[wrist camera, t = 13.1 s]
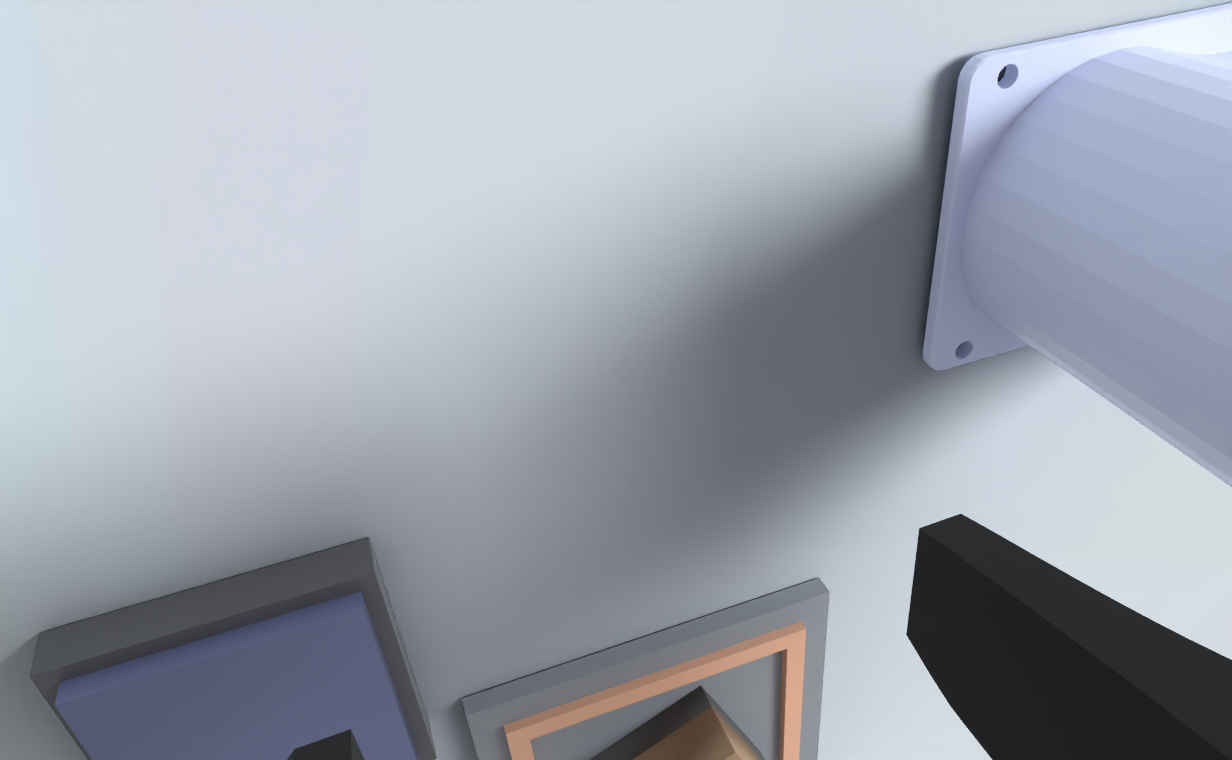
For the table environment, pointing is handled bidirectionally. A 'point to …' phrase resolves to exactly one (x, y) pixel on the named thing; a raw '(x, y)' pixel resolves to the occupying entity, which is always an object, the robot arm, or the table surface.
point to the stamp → (686, 735)
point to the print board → (672, 684)
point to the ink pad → (242, 668)
